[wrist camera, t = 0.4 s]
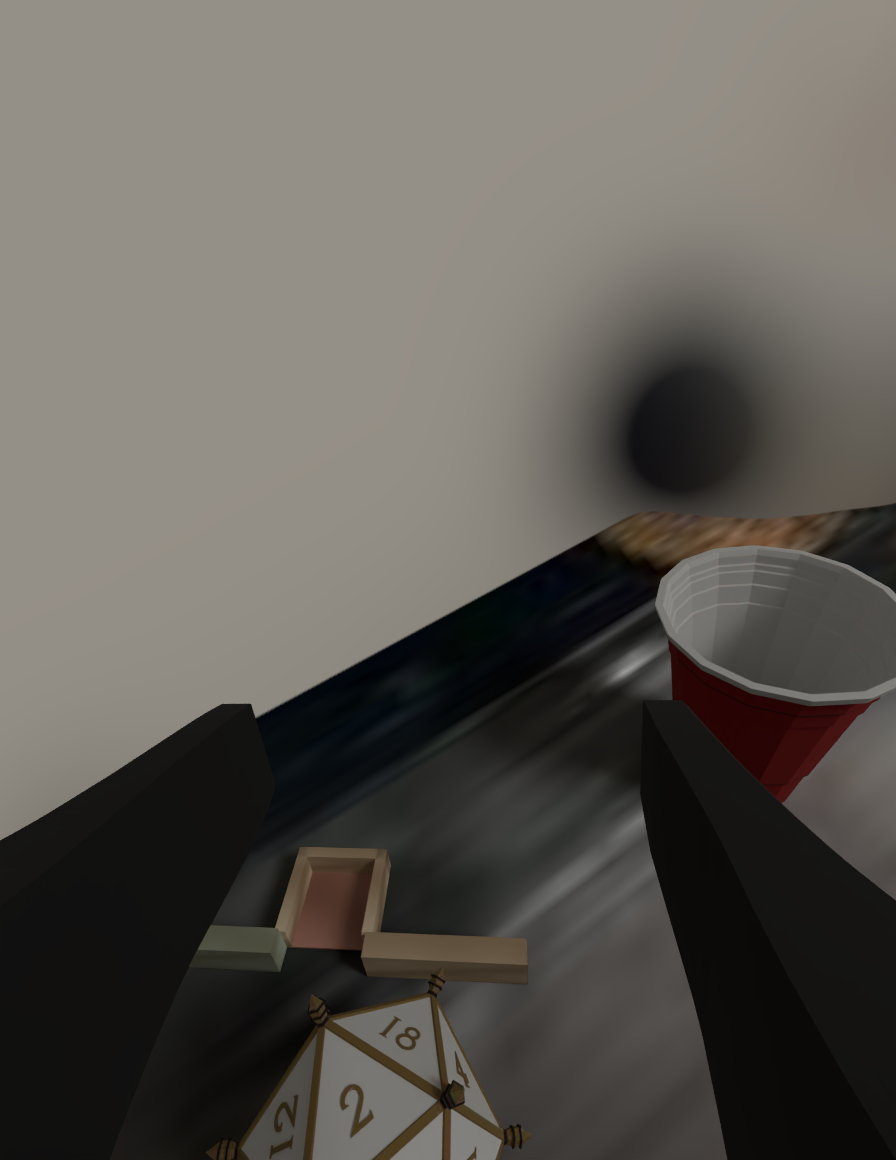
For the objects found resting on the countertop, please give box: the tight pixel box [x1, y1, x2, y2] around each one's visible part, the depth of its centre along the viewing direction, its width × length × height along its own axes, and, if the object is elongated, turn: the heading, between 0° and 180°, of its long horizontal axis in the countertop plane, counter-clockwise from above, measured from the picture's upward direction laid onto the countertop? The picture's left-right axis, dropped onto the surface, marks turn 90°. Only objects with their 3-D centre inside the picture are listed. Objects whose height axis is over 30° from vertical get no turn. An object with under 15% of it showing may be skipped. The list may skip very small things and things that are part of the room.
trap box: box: [189, 847, 528, 984], centre depth 19 cm, size 22×22×3 cm
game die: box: [206, 967, 531, 1160], centre depth 17 cm, size 9×8×10 cm
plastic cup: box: [655, 545, 896, 803], centre depth 29 cm, size 11×11×12 cm
